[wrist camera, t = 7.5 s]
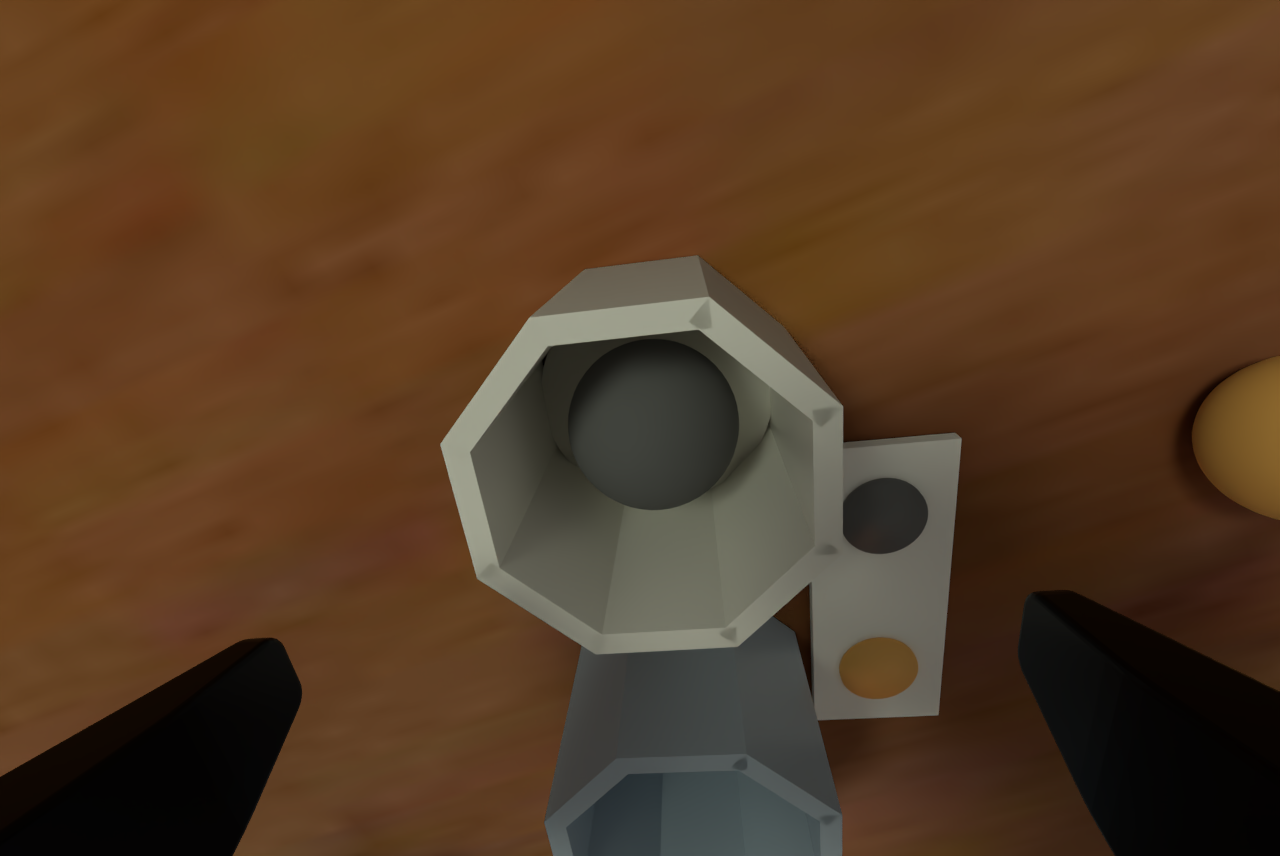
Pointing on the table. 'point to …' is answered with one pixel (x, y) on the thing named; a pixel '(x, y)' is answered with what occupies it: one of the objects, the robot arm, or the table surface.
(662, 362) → the black ball
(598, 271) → the cream cup
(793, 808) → the slate cup
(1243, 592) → the table surface
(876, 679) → the card
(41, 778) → the robot arm
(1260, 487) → the orange ball
